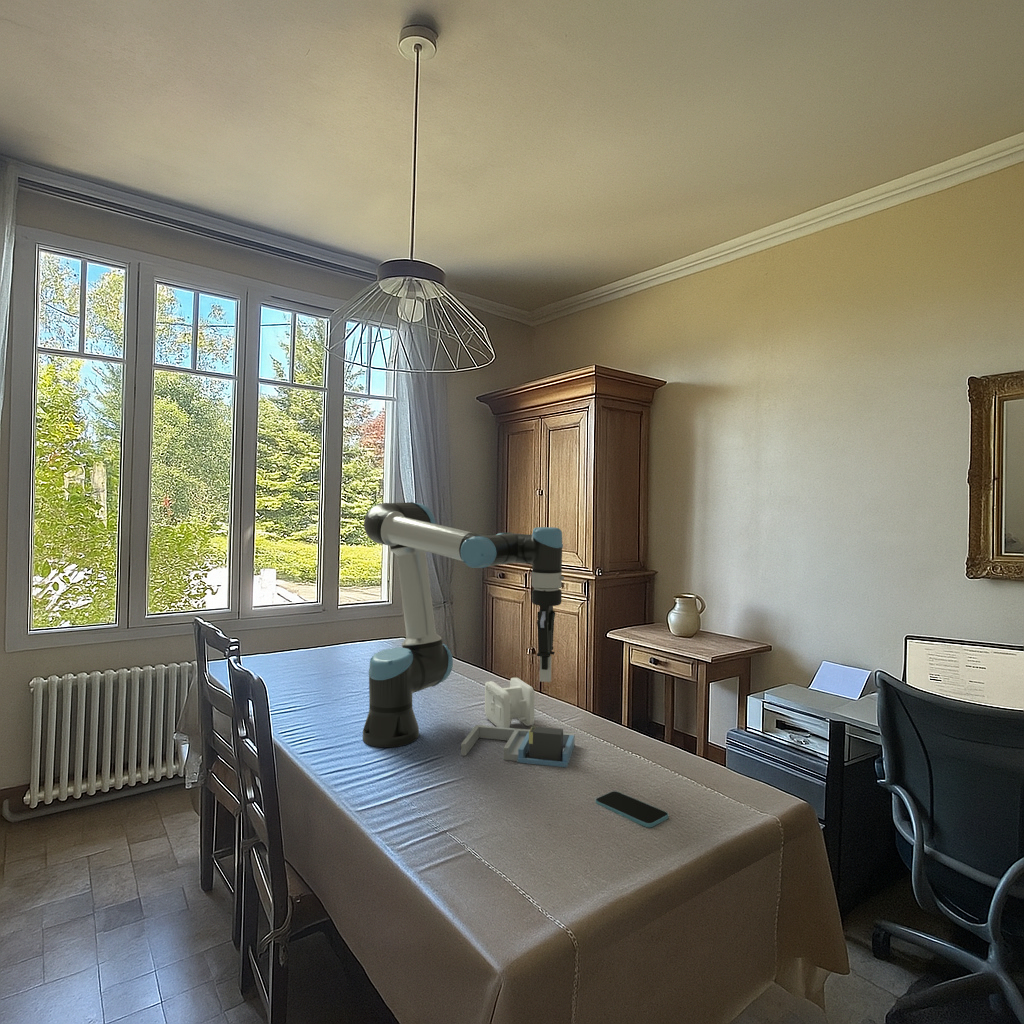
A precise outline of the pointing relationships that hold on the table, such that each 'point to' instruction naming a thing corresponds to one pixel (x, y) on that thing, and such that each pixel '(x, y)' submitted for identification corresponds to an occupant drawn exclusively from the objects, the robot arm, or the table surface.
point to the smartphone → (632, 809)
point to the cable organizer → (509, 703)
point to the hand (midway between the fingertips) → (545, 680)
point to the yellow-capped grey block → (546, 743)
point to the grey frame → (516, 744)
